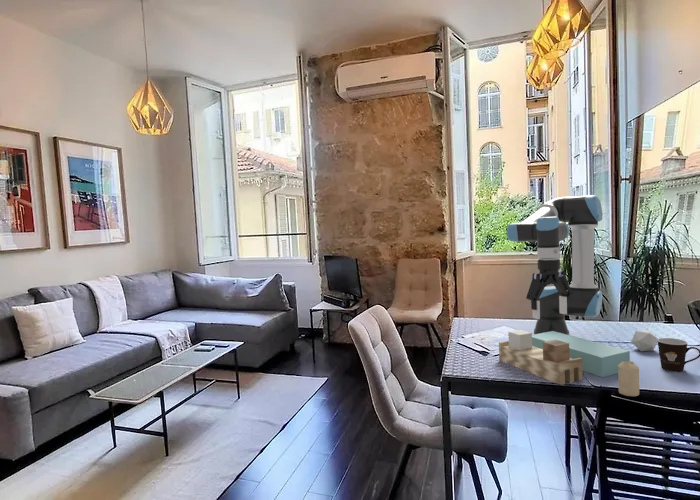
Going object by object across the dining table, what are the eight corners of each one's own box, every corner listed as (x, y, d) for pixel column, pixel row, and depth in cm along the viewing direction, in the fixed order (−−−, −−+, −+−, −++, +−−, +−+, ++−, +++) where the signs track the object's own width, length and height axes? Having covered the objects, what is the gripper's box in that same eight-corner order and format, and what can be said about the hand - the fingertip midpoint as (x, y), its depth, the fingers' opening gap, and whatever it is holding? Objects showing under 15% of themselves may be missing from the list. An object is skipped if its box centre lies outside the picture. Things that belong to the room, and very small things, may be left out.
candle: (631, 398, 133) (631, 366, 133) (614, 392, 138) (614, 361, 138) (643, 394, 135) (642, 362, 135) (626, 388, 140) (625, 358, 140)
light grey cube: (508, 346, 171) (508, 331, 171) (520, 344, 173) (520, 329, 173) (520, 350, 166) (519, 335, 165) (532, 348, 168) (531, 332, 168)
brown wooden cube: (543, 358, 155) (542, 342, 155) (555, 355, 158) (555, 339, 157) (556, 363, 150) (556, 346, 149) (569, 360, 152) (569, 343, 152)
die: (658, 355, 171) (665, 334, 173) (636, 345, 172) (644, 323, 175) (644, 357, 179) (651, 336, 181) (624, 347, 180) (631, 326, 182)
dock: (528, 352, 182) (527, 335, 182) (553, 346, 187) (552, 330, 187) (602, 377, 151) (601, 357, 150) (629, 370, 156) (629, 350, 156)
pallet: (499, 361, 174) (498, 342, 174) (518, 357, 178) (518, 338, 177) (561, 385, 146) (560, 363, 146) (582, 380, 150) (582, 358, 150)
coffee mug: (652, 367, 157) (651, 340, 156) (667, 363, 160) (666, 336, 160) (687, 377, 146) (687, 348, 146) (703, 372, 150) (702, 344, 149)
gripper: (531, 262, 151) (532, 322, 152) (581, 256, 161) (582, 313, 162) (514, 261, 158) (516, 318, 159) (564, 255, 168) (565, 310, 169)
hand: (550, 316), depth 161 cm, fingers open, 13 cm apart
